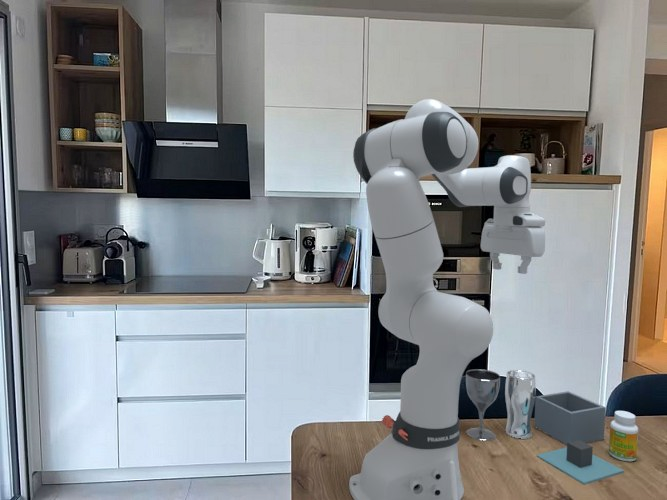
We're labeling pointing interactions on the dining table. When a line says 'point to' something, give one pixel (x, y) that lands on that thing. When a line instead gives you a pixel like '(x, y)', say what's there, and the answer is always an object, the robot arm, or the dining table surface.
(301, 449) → the dining table surface
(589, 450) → the lid
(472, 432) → the wine glass
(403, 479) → the robot arm
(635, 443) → the supplement bottle
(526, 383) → the beer glass
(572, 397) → the storage box
